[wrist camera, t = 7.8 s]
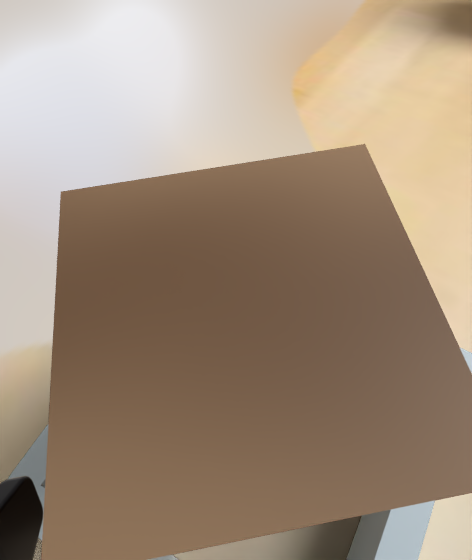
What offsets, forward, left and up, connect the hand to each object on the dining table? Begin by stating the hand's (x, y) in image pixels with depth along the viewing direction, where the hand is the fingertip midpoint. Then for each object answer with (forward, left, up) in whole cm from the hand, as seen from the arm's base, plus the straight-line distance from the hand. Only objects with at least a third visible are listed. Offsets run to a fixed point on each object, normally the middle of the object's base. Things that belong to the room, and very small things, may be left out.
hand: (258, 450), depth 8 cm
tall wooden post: (+1, +1, -10) cm, 10 cm away
